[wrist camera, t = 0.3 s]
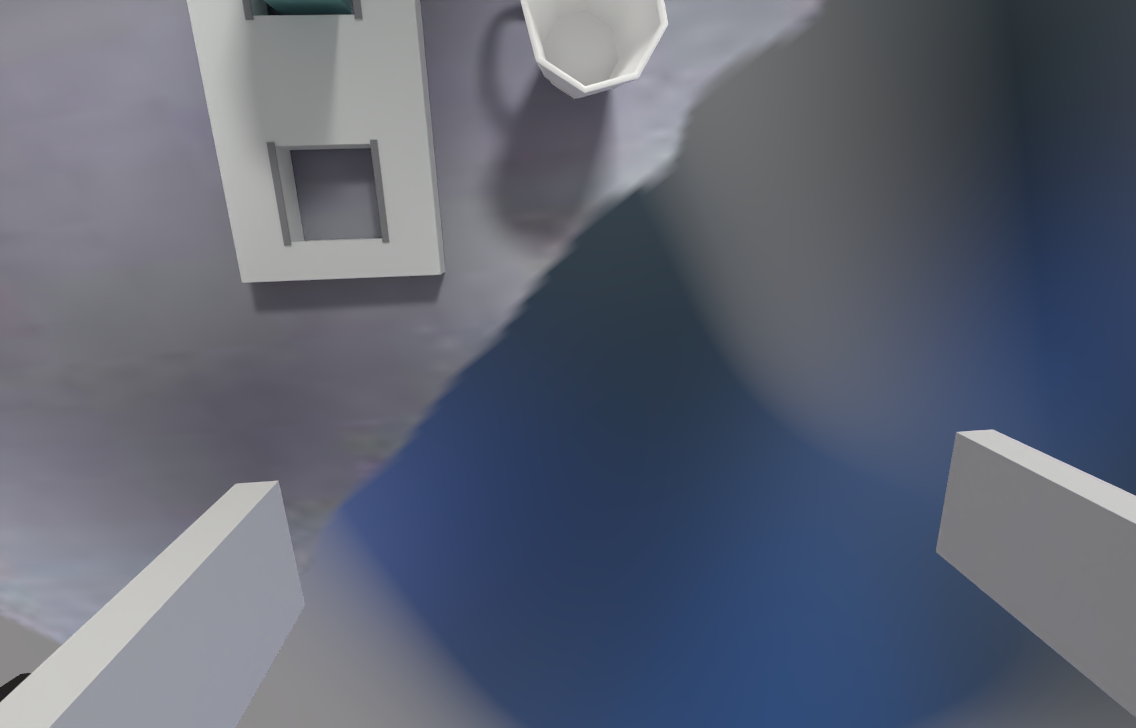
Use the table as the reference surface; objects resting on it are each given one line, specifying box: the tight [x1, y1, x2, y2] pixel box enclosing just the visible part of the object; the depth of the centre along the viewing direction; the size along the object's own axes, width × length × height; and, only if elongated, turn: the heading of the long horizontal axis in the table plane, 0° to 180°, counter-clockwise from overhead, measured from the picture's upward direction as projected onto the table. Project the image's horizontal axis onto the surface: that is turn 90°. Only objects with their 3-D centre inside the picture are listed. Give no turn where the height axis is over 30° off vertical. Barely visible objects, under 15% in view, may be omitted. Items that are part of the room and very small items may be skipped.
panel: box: [187, 0, 446, 283], centre depth 31 cm, size 22×12×2 cm, turn 2°
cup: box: [520, 0, 668, 99], centre depth 28 cm, size 7×10×8 cm
